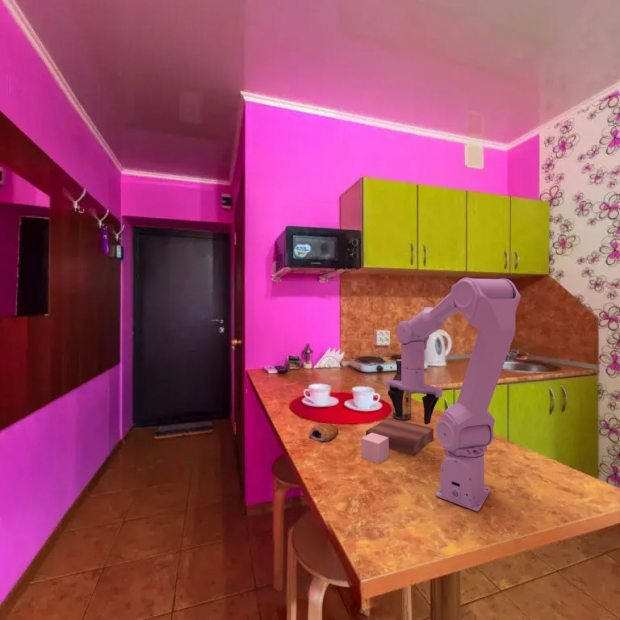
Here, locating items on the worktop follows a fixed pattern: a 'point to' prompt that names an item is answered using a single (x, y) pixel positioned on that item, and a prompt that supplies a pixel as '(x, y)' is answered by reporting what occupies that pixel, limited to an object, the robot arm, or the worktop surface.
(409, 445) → the base
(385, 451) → the cube
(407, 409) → the sauce bottle
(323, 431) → the pastry
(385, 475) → the worktop surface
